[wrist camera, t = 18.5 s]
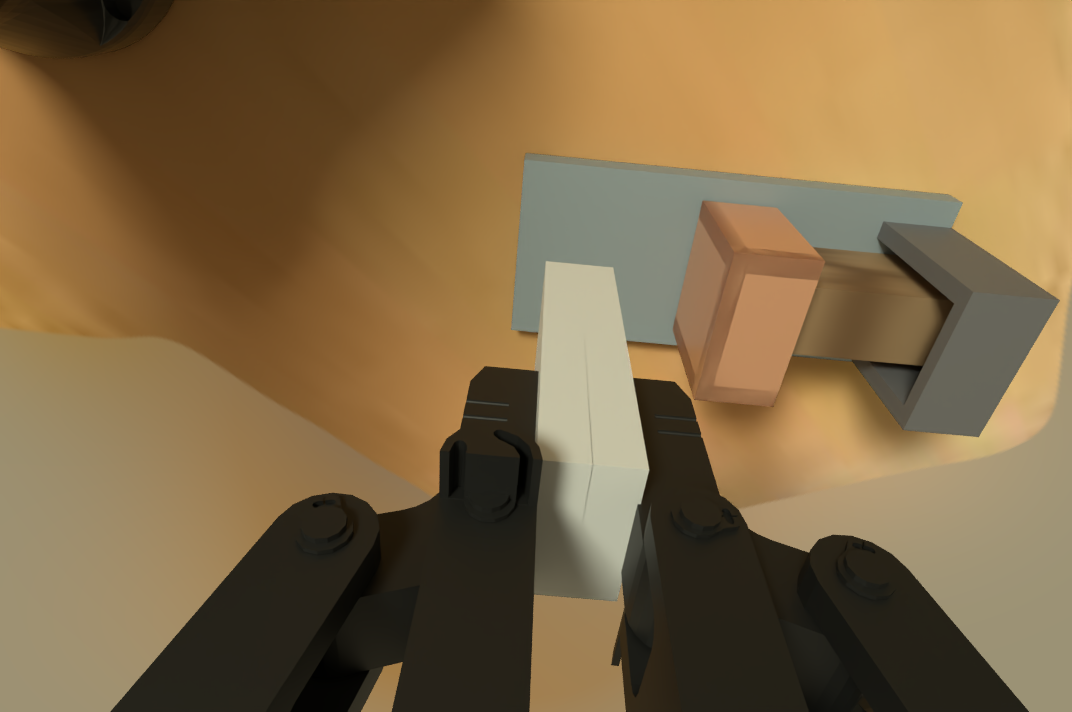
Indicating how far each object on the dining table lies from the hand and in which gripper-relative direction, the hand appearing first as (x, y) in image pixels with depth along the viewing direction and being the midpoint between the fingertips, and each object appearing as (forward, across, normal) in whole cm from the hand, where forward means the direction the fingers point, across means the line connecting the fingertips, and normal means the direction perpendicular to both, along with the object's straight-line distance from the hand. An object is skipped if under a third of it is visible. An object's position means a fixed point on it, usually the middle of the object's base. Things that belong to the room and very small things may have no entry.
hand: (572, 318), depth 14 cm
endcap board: (+24, +10, -8) cm, 28 cm away
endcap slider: (+23, +10, -8) cm, 26 cm away
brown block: (+23, +16, -8) cm, 29 cm away
